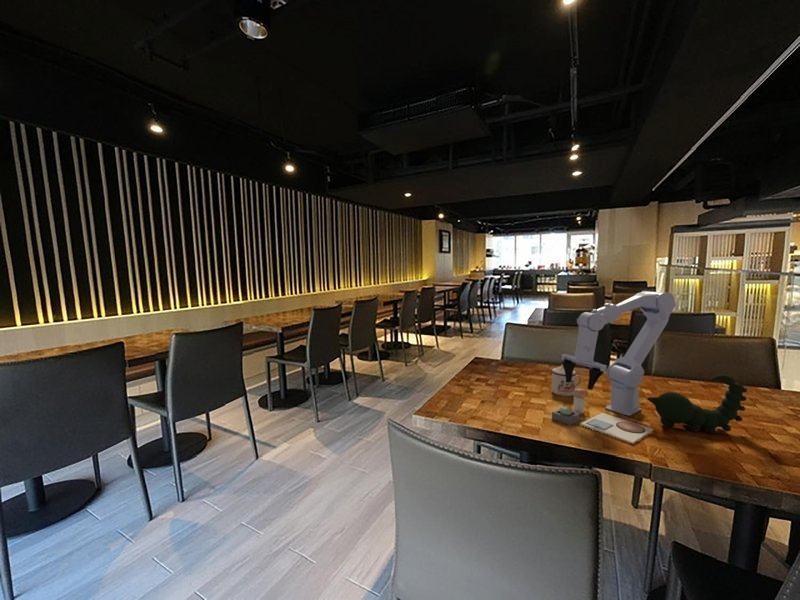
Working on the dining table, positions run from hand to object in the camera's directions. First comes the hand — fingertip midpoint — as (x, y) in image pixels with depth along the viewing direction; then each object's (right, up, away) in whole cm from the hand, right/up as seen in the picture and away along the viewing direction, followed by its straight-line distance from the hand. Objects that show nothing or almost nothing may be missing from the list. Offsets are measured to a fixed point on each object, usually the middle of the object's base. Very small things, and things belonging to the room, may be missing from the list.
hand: (578, 385), depth 118 cm
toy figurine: (+29, -11, -12) cm, 33 cm away
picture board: (+6, -11, -11) cm, 17 cm away
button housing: (-7, -10, -5) cm, 13 cm away
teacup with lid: (+6, -8, +21) cm, 23 cm away
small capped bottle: (+1, -10, +2) cm, 10 cm away
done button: (-7, -8, -5) cm, 12 cm away
